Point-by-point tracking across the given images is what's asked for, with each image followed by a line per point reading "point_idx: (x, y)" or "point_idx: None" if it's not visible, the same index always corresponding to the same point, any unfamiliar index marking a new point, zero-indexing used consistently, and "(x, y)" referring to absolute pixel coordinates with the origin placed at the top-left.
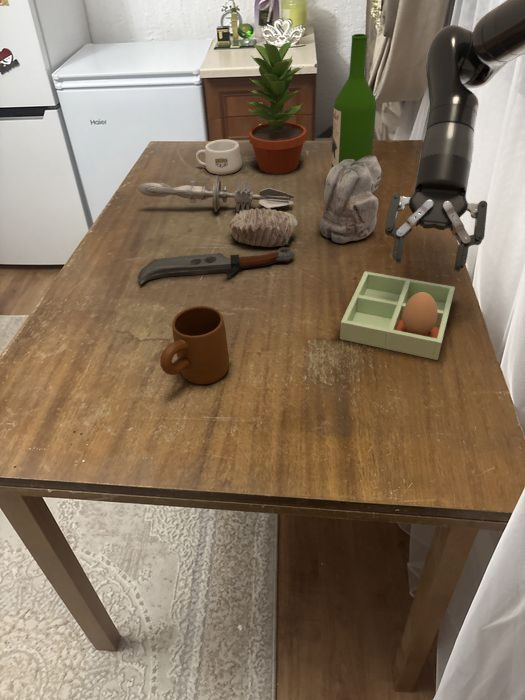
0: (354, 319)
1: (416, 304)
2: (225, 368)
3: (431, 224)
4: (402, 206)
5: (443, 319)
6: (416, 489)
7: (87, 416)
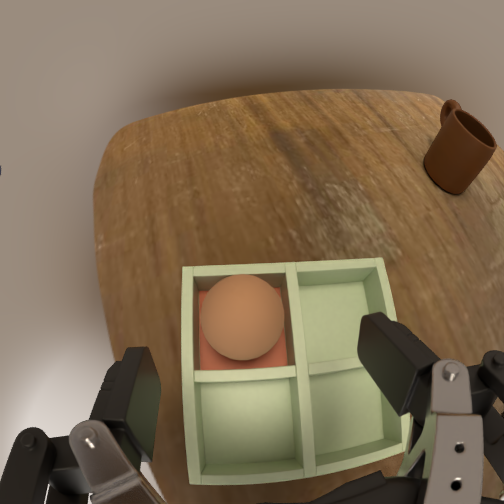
0: None
1: (253, 276)
2: (429, 162)
3: (330, 493)
4: None
5: (189, 347)
6: (193, 112)
7: None
